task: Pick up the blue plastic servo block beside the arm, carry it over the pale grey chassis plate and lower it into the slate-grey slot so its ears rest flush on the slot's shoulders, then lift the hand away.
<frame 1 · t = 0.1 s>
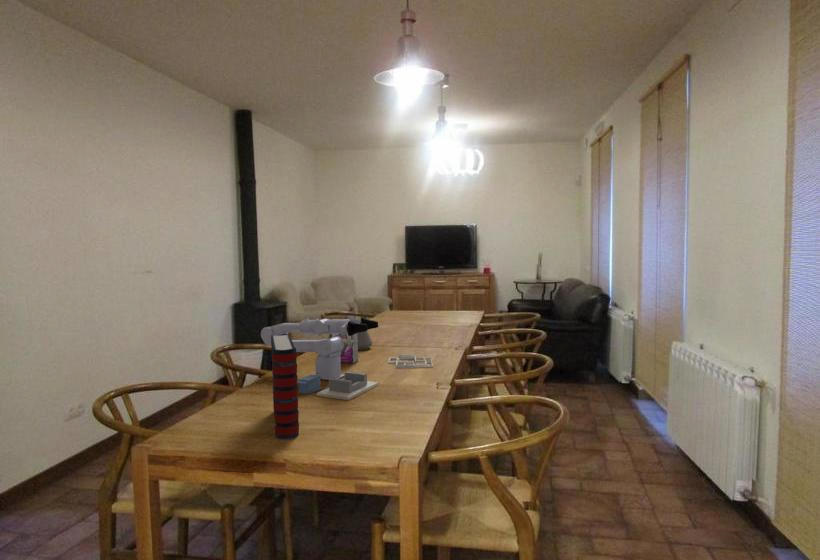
hand: (372, 326, 198), 22 cm above the table, tool horizontal, fingers open, 7 cm apart
chassis: (348, 390, 191), on the table
servo: (310, 391, 191), on the table
floor plan model: (403, 364, 231), on the table
candy bar box: (345, 362, 235), on the table
coffee pot: (359, 351, 257), on the table
book: (285, 424, 157), on the table
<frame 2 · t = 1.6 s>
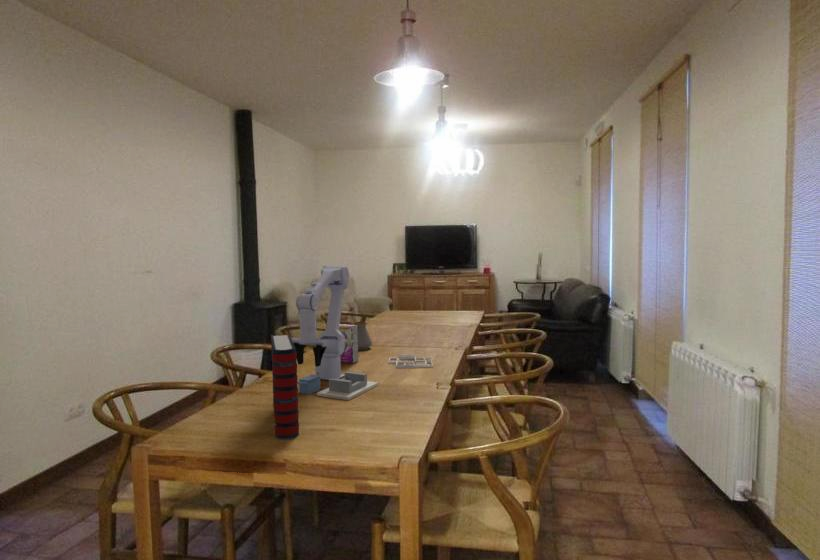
hand: (309, 364, 190), 9 cm above the table, tool pointing down, fingers open, 7 cm apart
nothing on the table moved.
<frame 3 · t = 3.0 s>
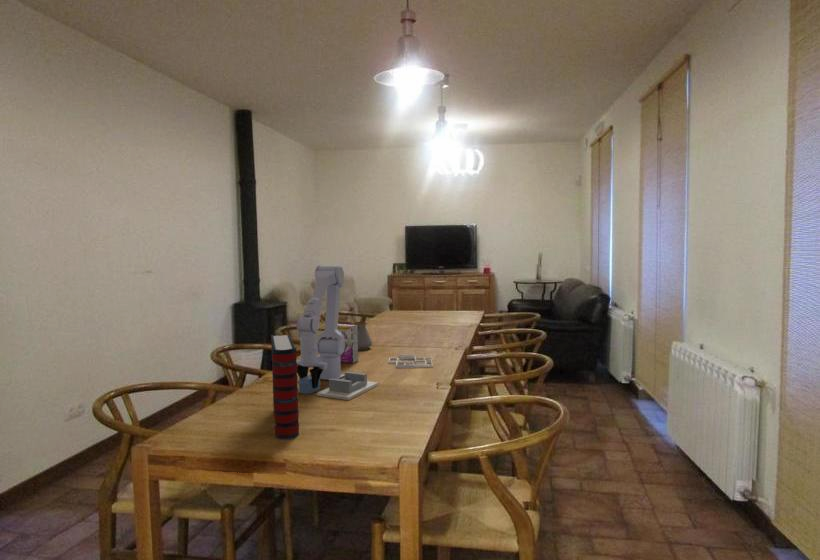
hand: (309, 386, 191), 1 cm above the table, tool pointing down, fingers closed on servo, 4 cm apart
servo: (310, 390, 191), on the table, touching gripper
everything else where it was.
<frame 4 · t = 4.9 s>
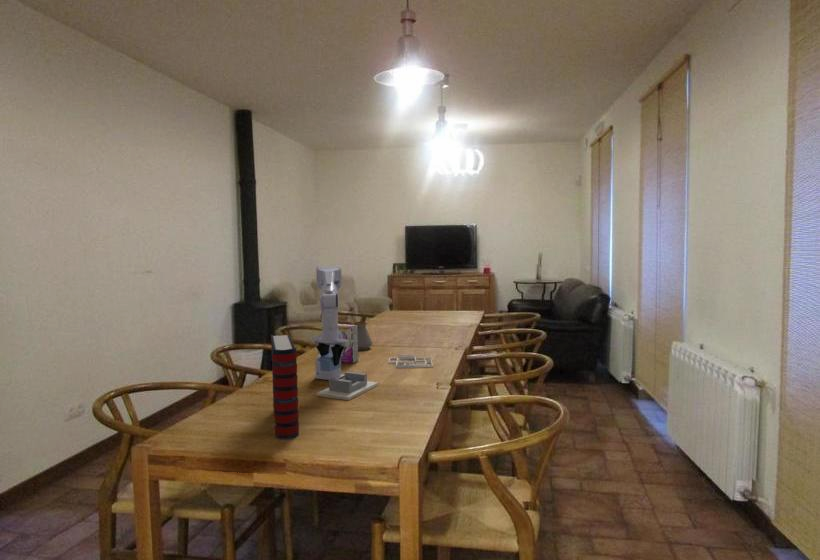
hand: (331, 364, 190), 9 cm above the table, tool pointing down, fingers closed on servo, 4 cm apart
servo: (330, 368, 190), point 8 cm above the table, touching gripper
everything else where it was.
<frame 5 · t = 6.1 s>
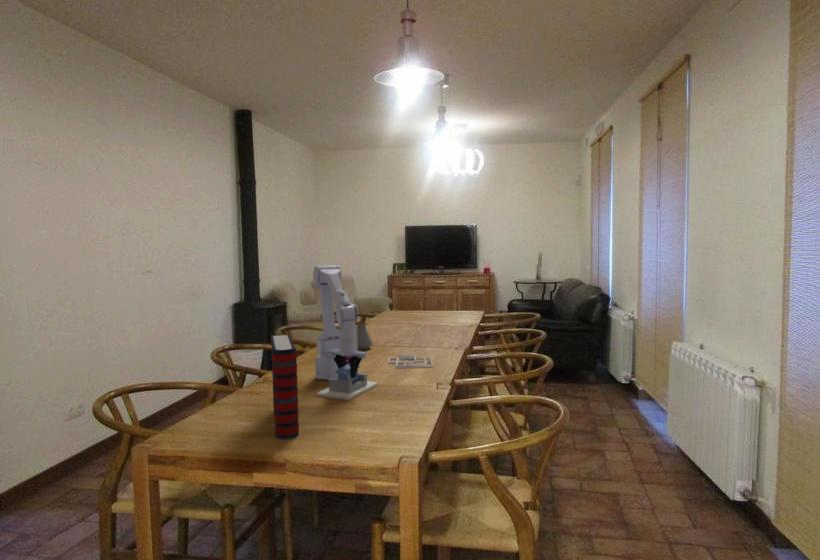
hand: (348, 376, 190), 5 cm above the table, tool pointing down, fingers closed on servo, 4 cm apart
servo: (348, 380, 190), point 4 cm above the table, touching gripper
everything else where it was.
when the fingers open (4 cm above the table, at t = 7.1 s): servo drops 2 cm, resting on chassis.
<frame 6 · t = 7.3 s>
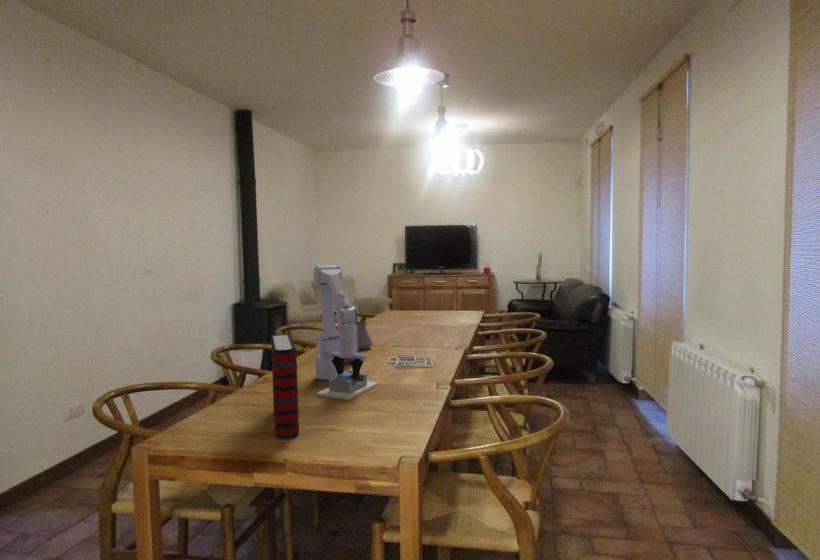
hand: (348, 378, 190), 4 cm above the table, tool pointing down, fingers open, 6 cm apart
servo: (348, 387, 191), point 1 cm above the table, touching chassis
everything else where it was.
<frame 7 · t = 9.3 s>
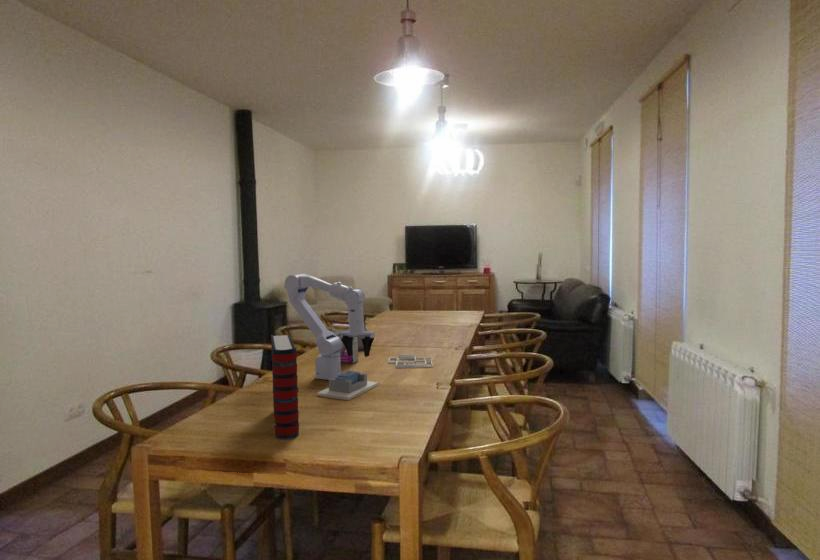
hand: (358, 355, 204), 9 cm above the table, tool pointing down, fingers open, 7 cm apart
nothing on the table moved.
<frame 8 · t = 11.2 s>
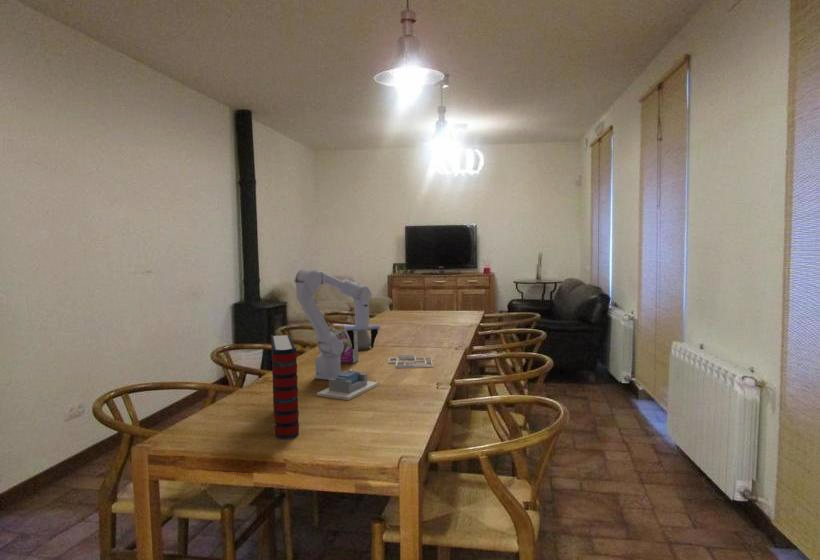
hand: (362, 348, 217), 9 cm above the table, tool pointing down, fingers open, 7 cm apart
nothing on the table moved.
at the end: servo 0.1 cm off-centre on the chassis, point 1.2 cm above the chassis's base; servo tilted 0°; the gripper is holding nothing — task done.
